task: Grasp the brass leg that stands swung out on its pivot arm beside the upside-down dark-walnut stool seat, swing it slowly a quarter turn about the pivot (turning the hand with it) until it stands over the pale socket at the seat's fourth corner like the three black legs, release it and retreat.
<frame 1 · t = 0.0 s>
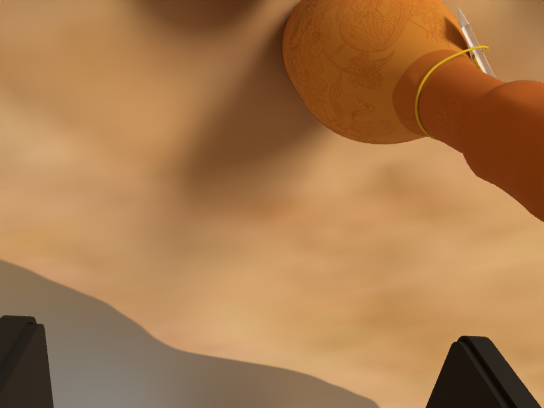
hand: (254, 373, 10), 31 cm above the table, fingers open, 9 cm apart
wine bottle: (335, 44, 37), on the table
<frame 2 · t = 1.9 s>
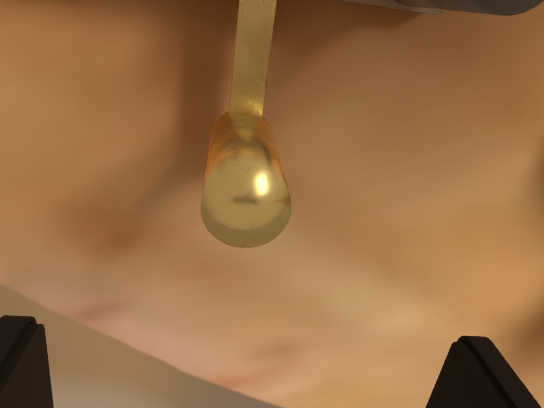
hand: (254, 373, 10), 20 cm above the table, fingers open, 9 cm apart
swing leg: (255, 68, 19), point 7 cm above the table, hinge at 90.0°
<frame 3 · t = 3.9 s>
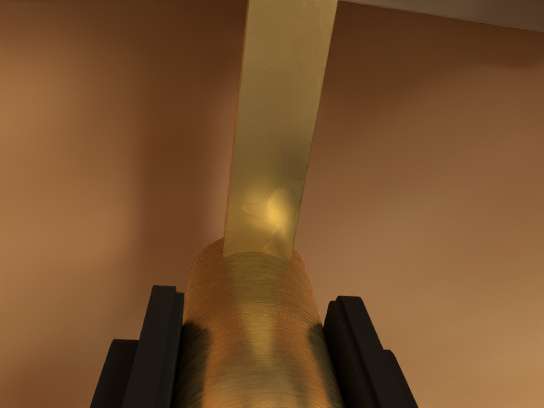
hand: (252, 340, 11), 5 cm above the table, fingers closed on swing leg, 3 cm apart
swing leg: (293, 213, 7), point 7 cm above the table, hinge at 90.0°, touching gripper
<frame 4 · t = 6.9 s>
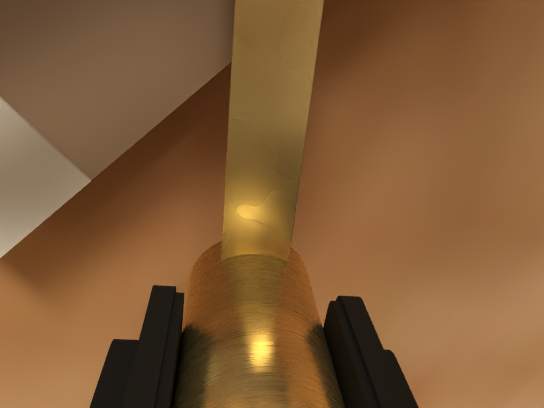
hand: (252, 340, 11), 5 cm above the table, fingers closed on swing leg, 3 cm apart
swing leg: (282, 215, 7), point 7 cm above the table, hinge at 46.6°, touching gripper
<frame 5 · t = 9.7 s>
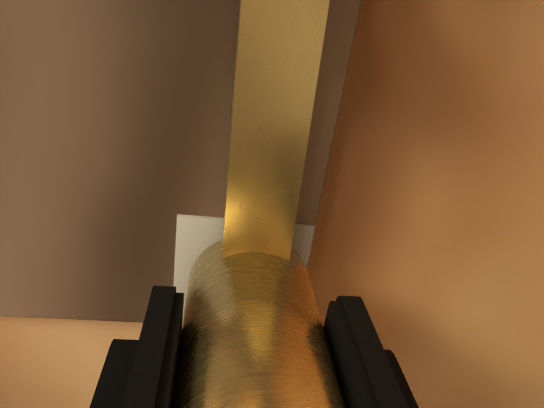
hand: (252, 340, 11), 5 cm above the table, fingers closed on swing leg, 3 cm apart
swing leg: (287, 214, 7), point 7 cm above the table, hinge at 1.5°, touching gripper
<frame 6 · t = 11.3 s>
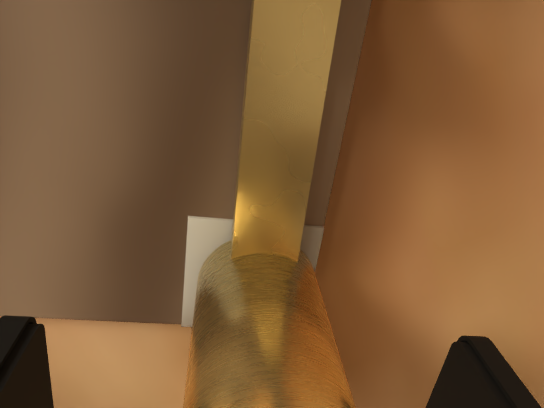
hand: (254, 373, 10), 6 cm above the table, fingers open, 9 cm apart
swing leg: (300, 215, 7), point 7 cm above the table, hinge at 1.2°
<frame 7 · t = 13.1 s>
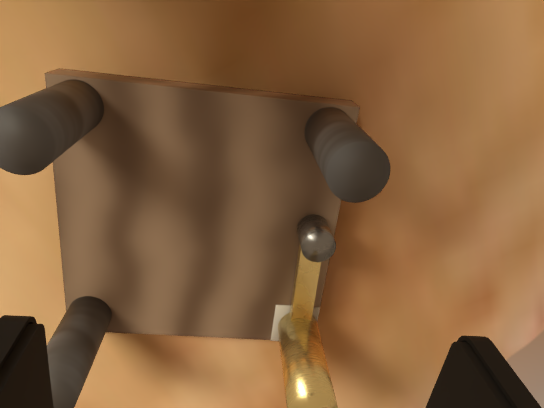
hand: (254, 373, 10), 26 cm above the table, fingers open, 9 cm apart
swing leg: (312, 316, 33), point 7 cm above the table, hinge at 1.2°
stool seat: (202, 215, 37), on the table
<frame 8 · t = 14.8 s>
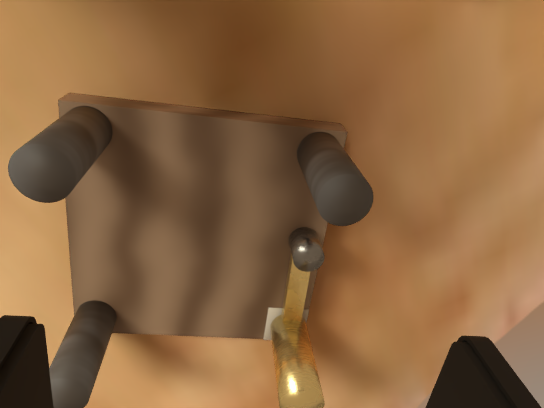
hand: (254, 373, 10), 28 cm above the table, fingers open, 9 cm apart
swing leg: (302, 320, 37), point 7 cm above the table, hinge at 1.2°
stool seat: (201, 226, 40), on the table
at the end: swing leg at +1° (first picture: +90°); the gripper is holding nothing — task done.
